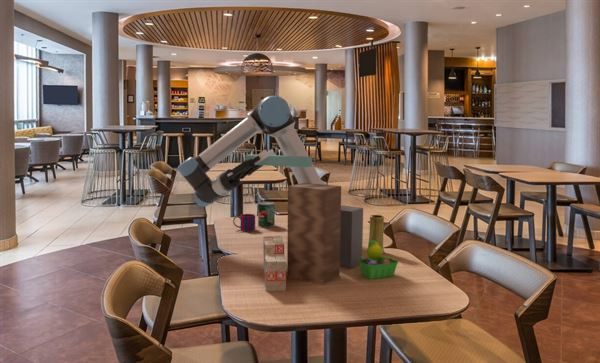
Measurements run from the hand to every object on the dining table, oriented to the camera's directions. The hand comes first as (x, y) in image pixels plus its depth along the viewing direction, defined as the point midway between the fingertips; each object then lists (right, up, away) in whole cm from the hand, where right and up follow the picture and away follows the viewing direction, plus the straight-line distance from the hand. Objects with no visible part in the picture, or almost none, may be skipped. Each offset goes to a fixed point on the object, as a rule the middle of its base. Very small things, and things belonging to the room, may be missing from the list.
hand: (270, 152), depth 193 cm
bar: (+3, -5, -1) cm, 6 cm away
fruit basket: (+36, -42, -14) cm, 57 cm away
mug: (-15, -33, +53) cm, 64 cm away
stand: (+15, -42, -17) cm, 48 cm away
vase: (+40, -38, +15) cm, 57 cm away
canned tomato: (-5, -32, +63) cm, 70 cm away
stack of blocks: (+2, -42, -21) cm, 47 cm away
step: (+26, -40, 0) cm, 47 cm away
